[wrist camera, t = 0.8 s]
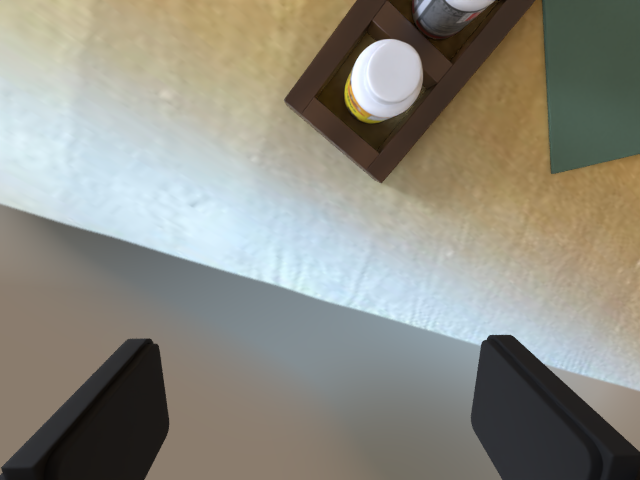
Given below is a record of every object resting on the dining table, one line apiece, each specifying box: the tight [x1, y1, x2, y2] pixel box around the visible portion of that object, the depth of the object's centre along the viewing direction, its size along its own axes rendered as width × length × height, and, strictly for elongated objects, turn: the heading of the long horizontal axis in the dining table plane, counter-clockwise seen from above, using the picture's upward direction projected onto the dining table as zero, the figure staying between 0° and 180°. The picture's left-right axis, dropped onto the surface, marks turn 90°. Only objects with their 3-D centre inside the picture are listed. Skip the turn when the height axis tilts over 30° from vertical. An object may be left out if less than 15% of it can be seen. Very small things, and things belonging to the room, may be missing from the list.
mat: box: [542, 0, 640, 174], centre depth 33 cm, size 20×12×1 cm, turn 13°
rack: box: [284, 0, 535, 183], centre depth 31 cm, size 12×22×3 cm, turn 141°
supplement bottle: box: [344, 39, 423, 124], centre depth 28 cm, size 6×6×10 cm
